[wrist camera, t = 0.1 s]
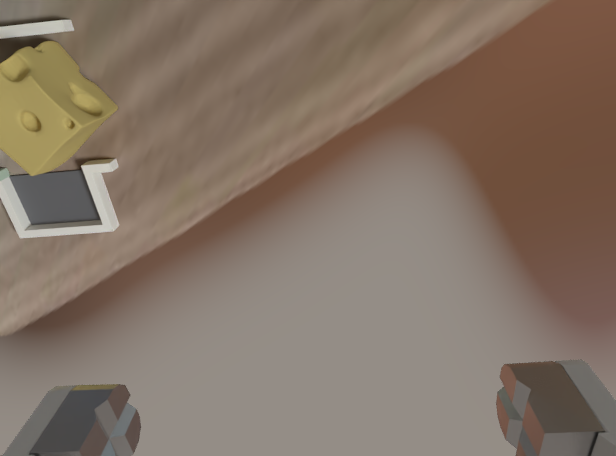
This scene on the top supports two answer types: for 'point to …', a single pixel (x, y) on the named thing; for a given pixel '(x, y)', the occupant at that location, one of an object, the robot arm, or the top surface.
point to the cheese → (47, 107)
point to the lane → (57, 182)
